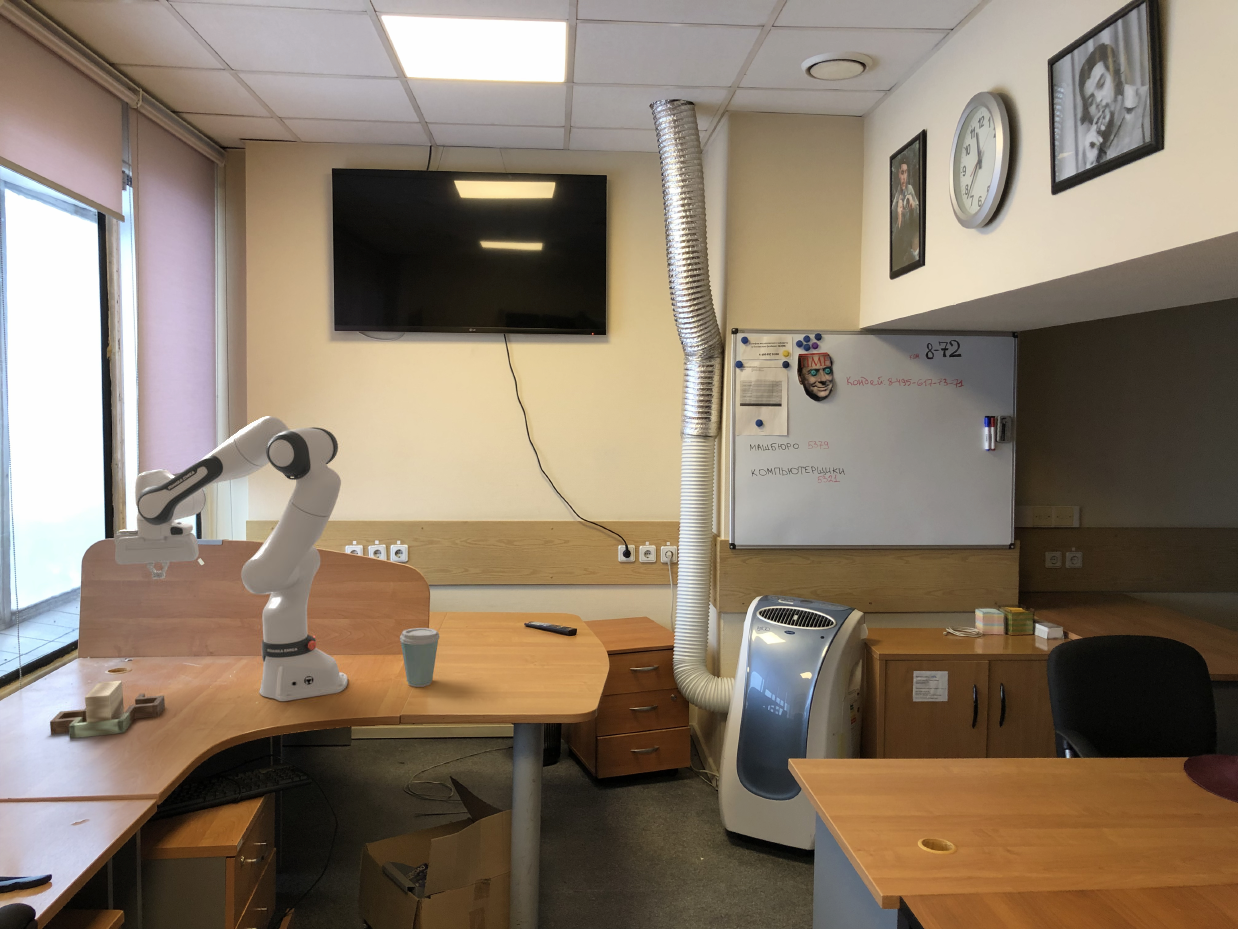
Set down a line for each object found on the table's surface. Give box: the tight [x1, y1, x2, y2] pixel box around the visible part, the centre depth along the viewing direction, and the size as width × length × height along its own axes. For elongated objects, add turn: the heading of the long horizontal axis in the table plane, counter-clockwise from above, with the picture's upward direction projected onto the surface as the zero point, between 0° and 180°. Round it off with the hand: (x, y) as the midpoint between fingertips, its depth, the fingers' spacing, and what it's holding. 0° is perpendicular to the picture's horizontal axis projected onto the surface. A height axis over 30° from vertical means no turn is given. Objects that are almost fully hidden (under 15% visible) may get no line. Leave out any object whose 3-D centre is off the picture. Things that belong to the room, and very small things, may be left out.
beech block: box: [84, 680, 125, 722], centre depth 205 cm, size 5×10×9 cm, turn 15°
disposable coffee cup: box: [399, 627, 440, 688], centre depth 232 cm, size 11×11×15 cm
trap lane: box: [49, 692, 166, 739], centre depth 208 cm, size 22×18×3 cm
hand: (158, 578), depth 232 cm, fingers closed
